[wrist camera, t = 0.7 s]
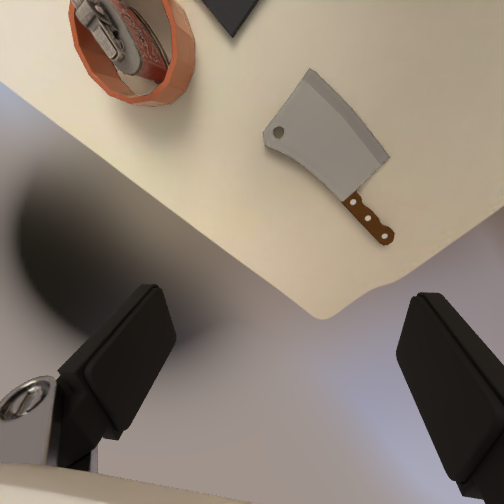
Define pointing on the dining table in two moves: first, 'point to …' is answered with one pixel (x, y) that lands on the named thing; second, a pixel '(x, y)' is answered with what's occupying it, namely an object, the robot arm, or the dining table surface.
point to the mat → (231, 12)
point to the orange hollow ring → (107, 75)
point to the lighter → (124, 37)
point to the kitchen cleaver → (330, 145)
